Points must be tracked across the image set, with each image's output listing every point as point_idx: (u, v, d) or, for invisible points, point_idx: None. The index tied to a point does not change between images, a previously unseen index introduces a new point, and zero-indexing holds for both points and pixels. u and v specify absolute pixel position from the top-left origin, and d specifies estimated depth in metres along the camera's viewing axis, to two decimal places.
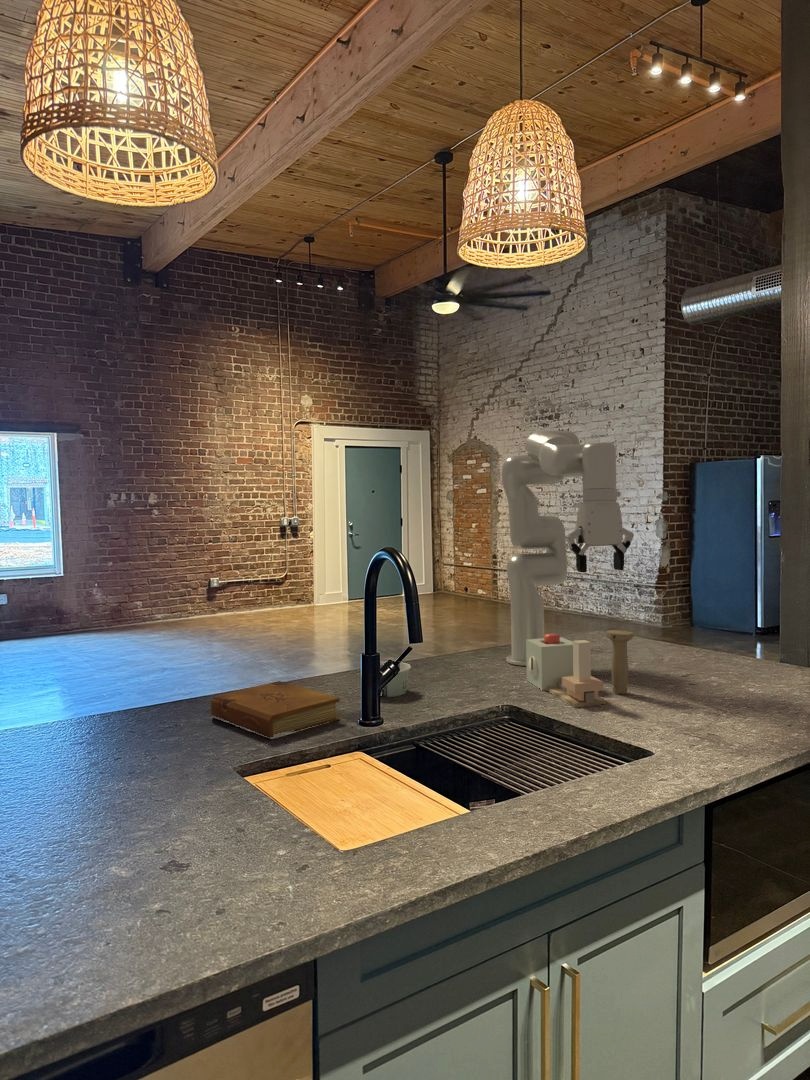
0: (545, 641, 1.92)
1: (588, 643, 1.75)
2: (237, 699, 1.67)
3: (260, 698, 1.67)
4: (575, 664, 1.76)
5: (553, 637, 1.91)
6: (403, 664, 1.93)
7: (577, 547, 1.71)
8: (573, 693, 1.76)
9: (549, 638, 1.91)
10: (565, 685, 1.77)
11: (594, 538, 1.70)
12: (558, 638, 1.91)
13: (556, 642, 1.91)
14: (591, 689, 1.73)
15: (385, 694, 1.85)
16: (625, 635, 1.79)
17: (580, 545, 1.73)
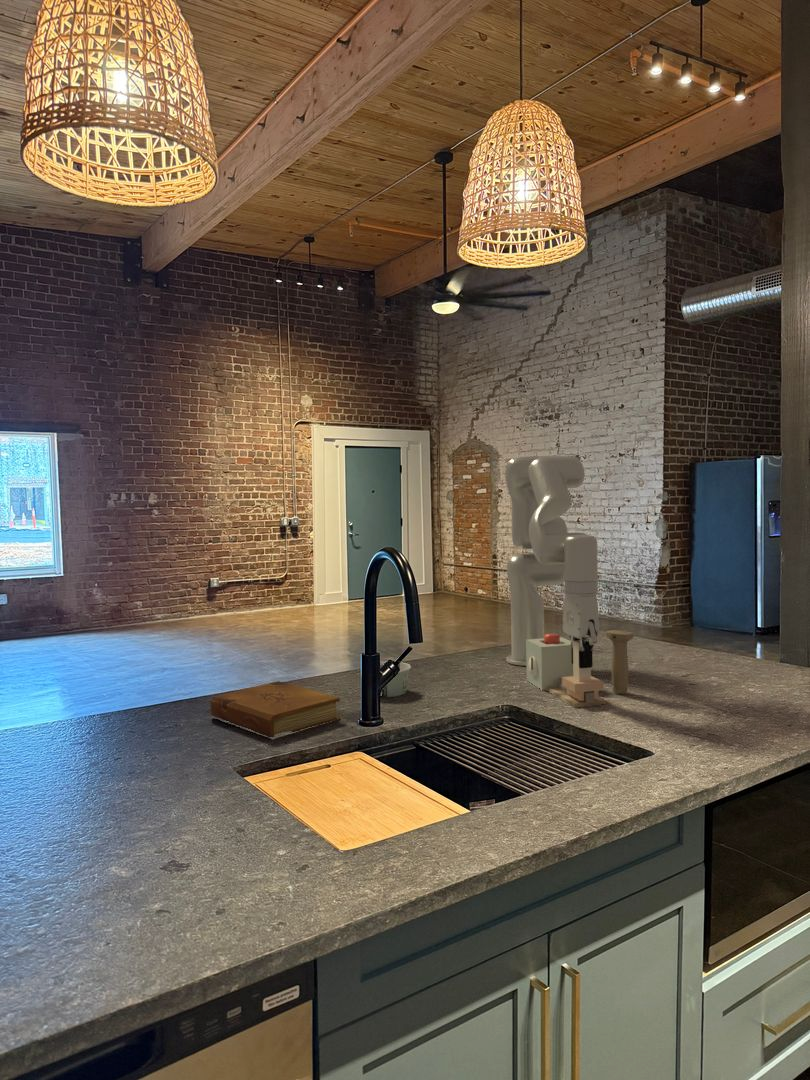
0: (545, 641, 1.92)
1: None
2: (237, 699, 1.67)
3: (260, 698, 1.67)
4: (575, 664, 1.76)
5: (553, 637, 1.91)
6: (403, 664, 1.93)
7: None
8: (573, 693, 1.76)
9: (549, 638, 1.91)
10: (565, 685, 1.77)
11: None
12: (558, 638, 1.91)
13: (556, 642, 1.91)
14: (591, 689, 1.73)
15: (385, 694, 1.85)
16: (625, 635, 1.79)
17: None
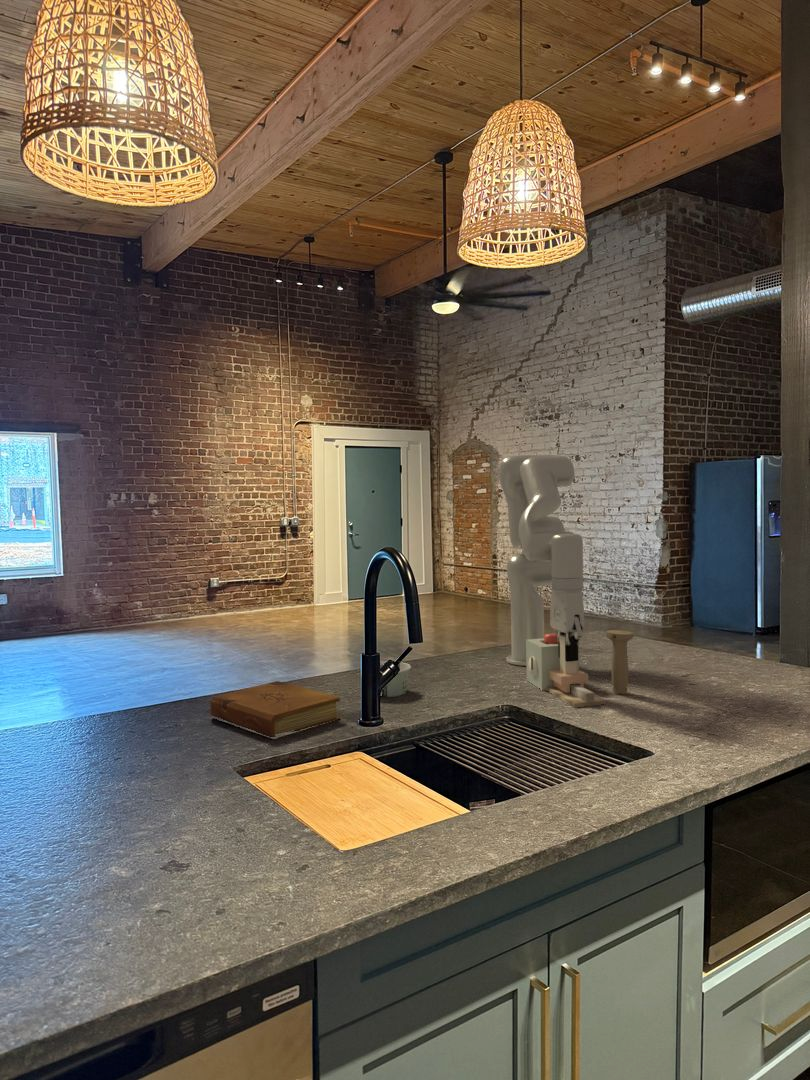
0: (545, 641, 1.92)
1: None
2: (237, 699, 1.67)
3: (260, 699, 1.67)
4: (562, 658, 1.83)
5: (553, 637, 1.91)
6: (403, 664, 1.93)
7: None
8: (560, 685, 1.83)
9: (549, 638, 1.91)
10: (552, 678, 1.84)
11: None
12: None
13: (556, 642, 1.91)
14: (577, 681, 1.80)
15: (385, 694, 1.85)
16: (625, 635, 1.79)
17: None
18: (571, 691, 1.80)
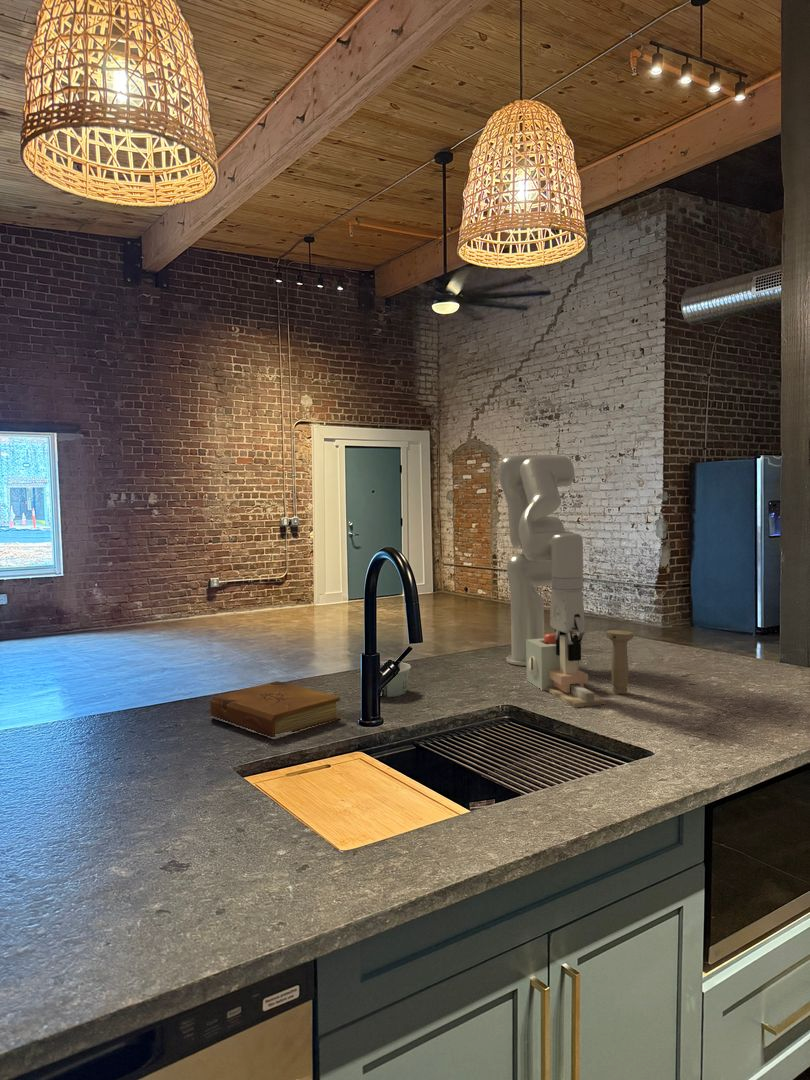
0: (545, 641, 1.92)
1: None
2: (237, 699, 1.67)
3: (260, 699, 1.67)
4: (562, 657, 1.83)
5: (553, 637, 1.91)
6: (403, 664, 1.93)
7: None
8: (560, 685, 1.83)
9: (549, 638, 1.91)
10: (552, 678, 1.84)
11: None
12: None
13: None
14: (577, 681, 1.80)
15: (385, 694, 1.85)
16: (625, 635, 1.79)
17: None
18: (571, 691, 1.80)
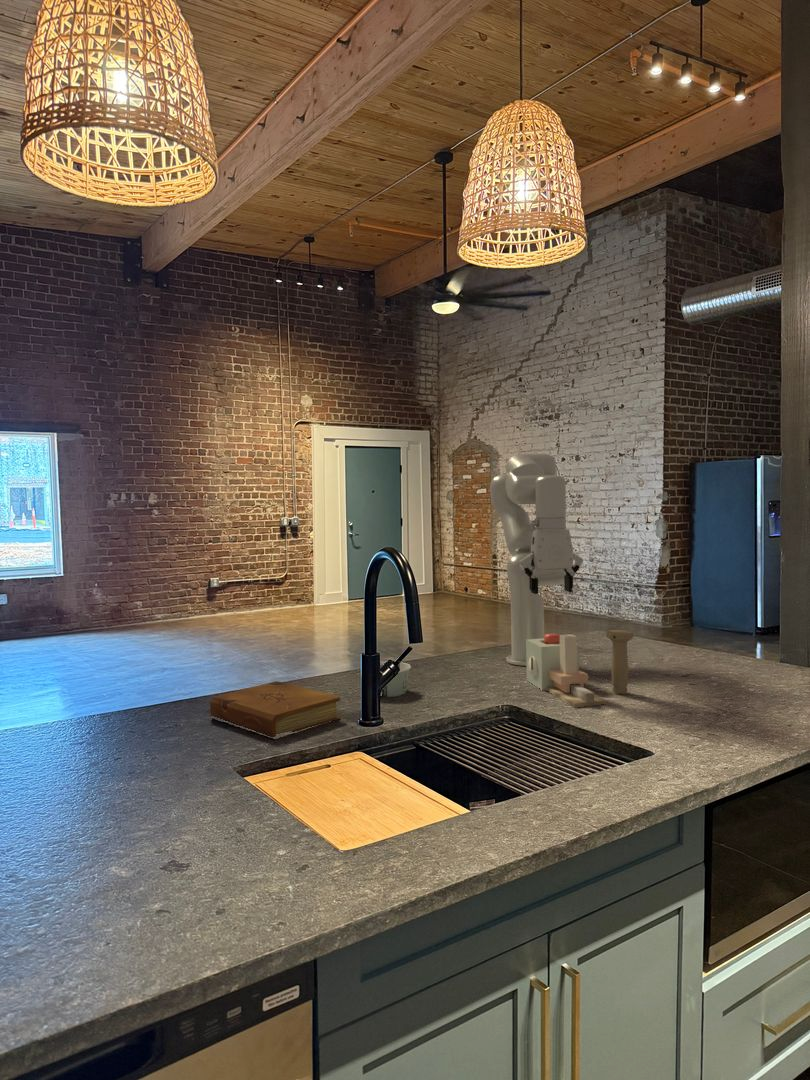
0: (545, 641, 1.92)
1: (574, 637, 1.82)
2: (237, 699, 1.67)
3: (260, 699, 1.67)
4: (562, 657, 1.83)
5: (553, 637, 1.91)
6: (403, 664, 1.93)
7: None
8: (560, 685, 1.83)
9: (549, 638, 1.91)
10: (552, 678, 1.84)
11: None
12: (558, 638, 1.91)
13: (556, 642, 1.91)
14: (577, 681, 1.80)
15: (385, 694, 1.85)
16: (625, 635, 1.79)
17: None
18: (571, 691, 1.80)
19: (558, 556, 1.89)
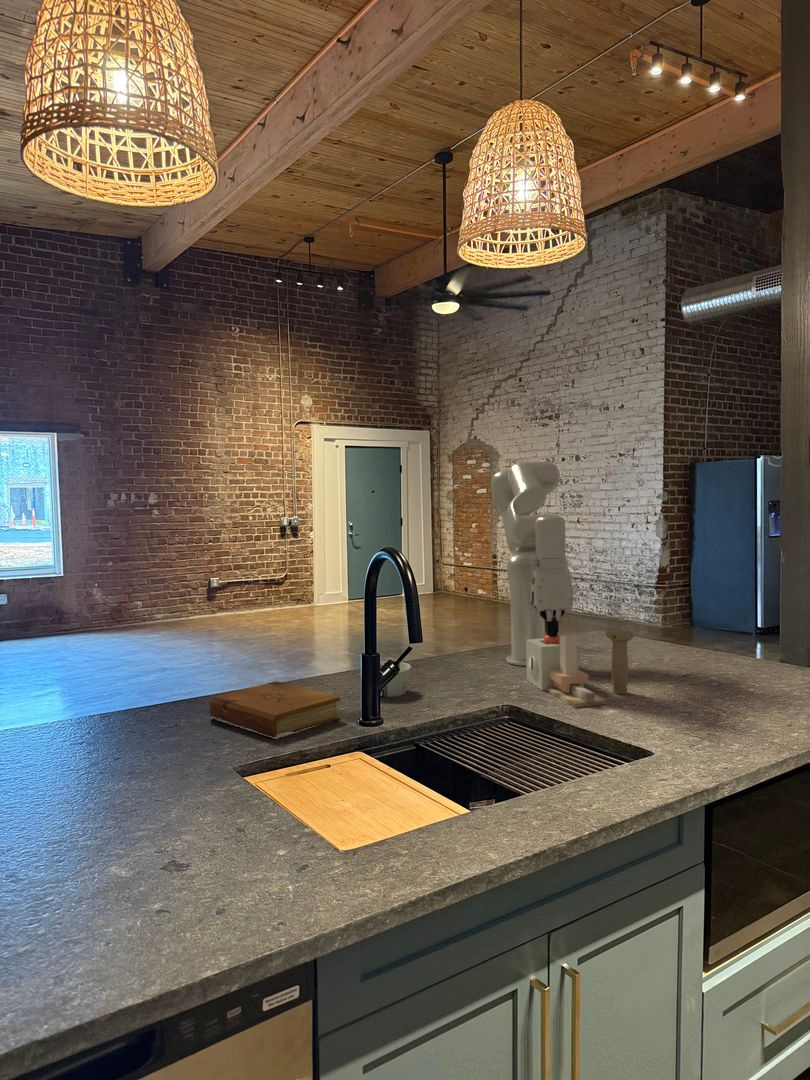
0: (545, 642, 1.92)
1: (574, 637, 1.82)
2: (237, 700, 1.67)
3: (260, 699, 1.67)
4: (562, 657, 1.83)
5: (553, 638, 1.91)
6: (403, 664, 1.93)
7: None
8: (560, 685, 1.83)
9: (549, 639, 1.91)
10: (552, 678, 1.84)
11: None
12: (558, 639, 1.91)
13: (556, 643, 1.91)
14: (577, 681, 1.80)
15: (385, 694, 1.85)
16: (625, 635, 1.79)
17: None
18: (571, 691, 1.80)
19: (558, 596, 1.89)
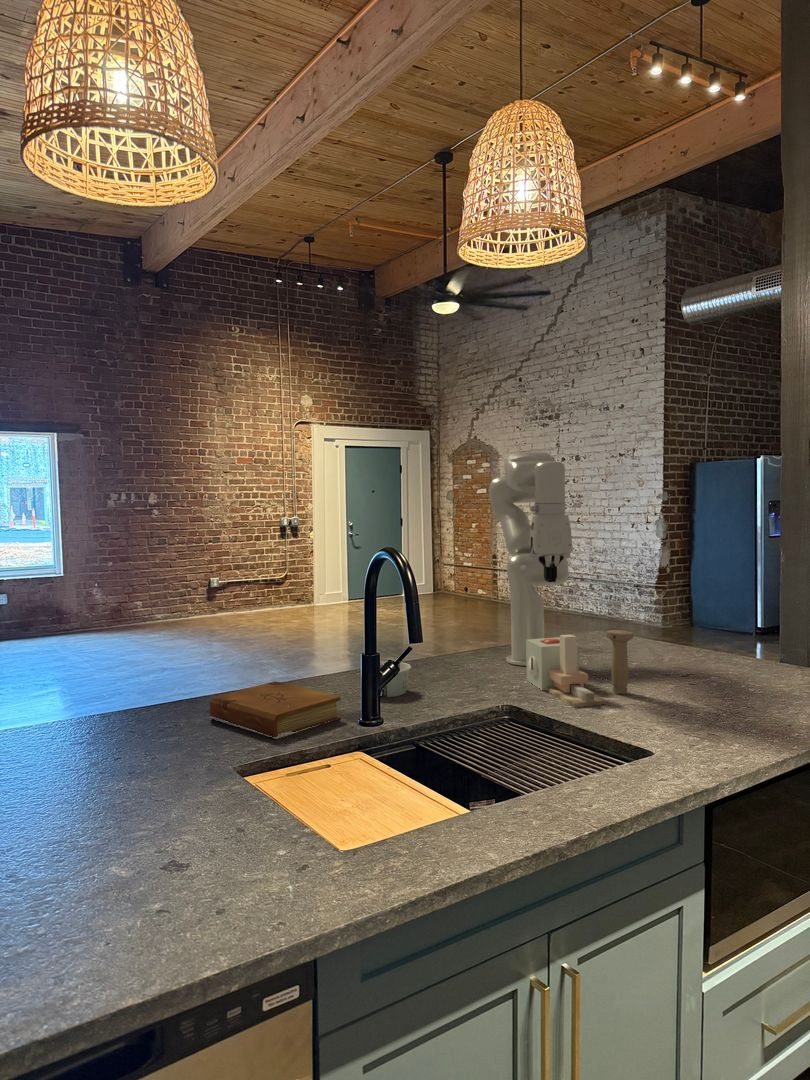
0: None
1: (574, 637, 1.82)
2: (237, 700, 1.67)
3: (260, 699, 1.67)
4: (562, 657, 1.83)
5: (553, 642, 1.91)
6: (403, 664, 1.93)
7: None
8: (560, 685, 1.83)
9: (549, 643, 1.91)
10: (552, 678, 1.84)
11: None
12: (558, 643, 1.91)
13: None
14: (577, 681, 1.80)
15: (385, 694, 1.85)
16: (625, 635, 1.79)
17: None
18: (571, 691, 1.80)
19: (557, 541, 1.90)
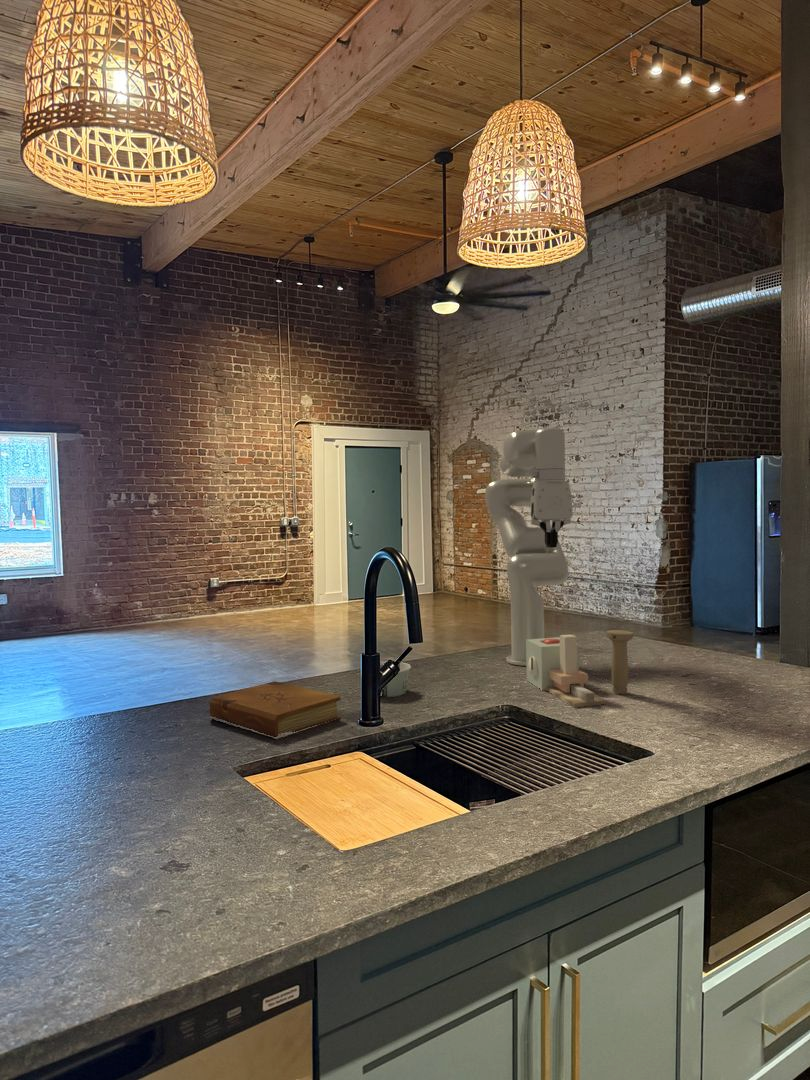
0: None
1: (574, 637, 1.82)
2: (237, 700, 1.67)
3: (260, 699, 1.67)
4: (562, 657, 1.83)
5: (553, 642, 1.91)
6: (403, 664, 1.93)
7: None
8: (560, 685, 1.83)
9: (549, 643, 1.91)
10: (552, 678, 1.84)
11: None
12: (558, 643, 1.91)
13: None
14: (577, 681, 1.80)
15: (385, 694, 1.85)
16: (625, 635, 1.79)
17: None
18: (571, 691, 1.80)
19: (558, 507, 1.92)
